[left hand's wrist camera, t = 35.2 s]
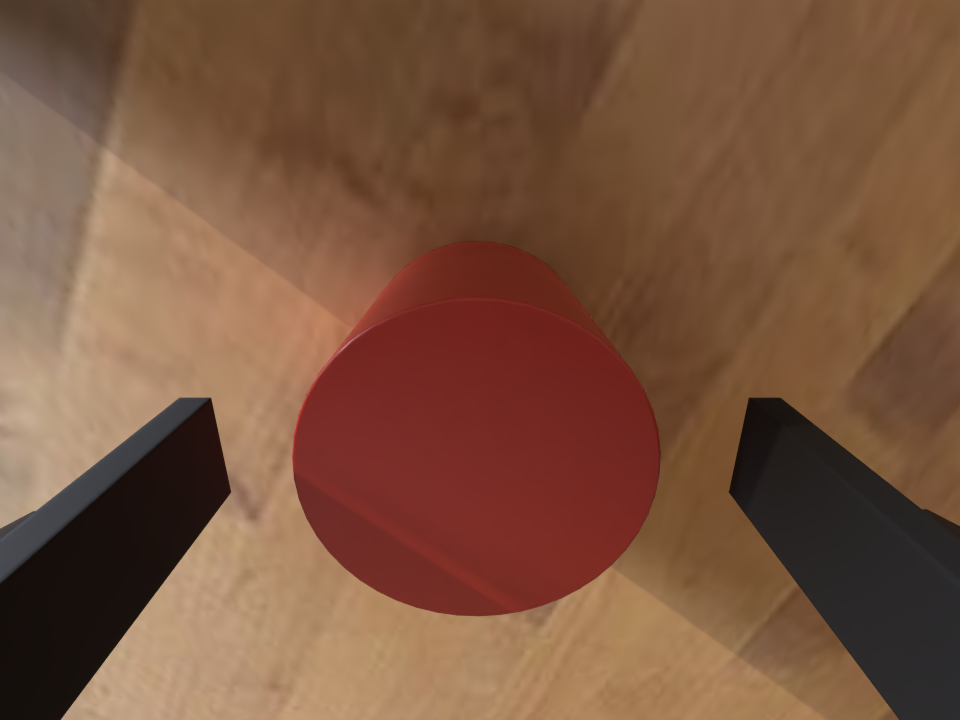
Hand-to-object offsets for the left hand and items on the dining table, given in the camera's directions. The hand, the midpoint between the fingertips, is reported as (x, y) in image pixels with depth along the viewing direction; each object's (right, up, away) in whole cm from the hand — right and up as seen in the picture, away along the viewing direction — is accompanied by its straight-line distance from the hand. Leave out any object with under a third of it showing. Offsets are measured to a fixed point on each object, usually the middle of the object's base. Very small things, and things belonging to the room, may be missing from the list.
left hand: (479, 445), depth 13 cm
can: (0, +2, +8) cm, 8 cm away
